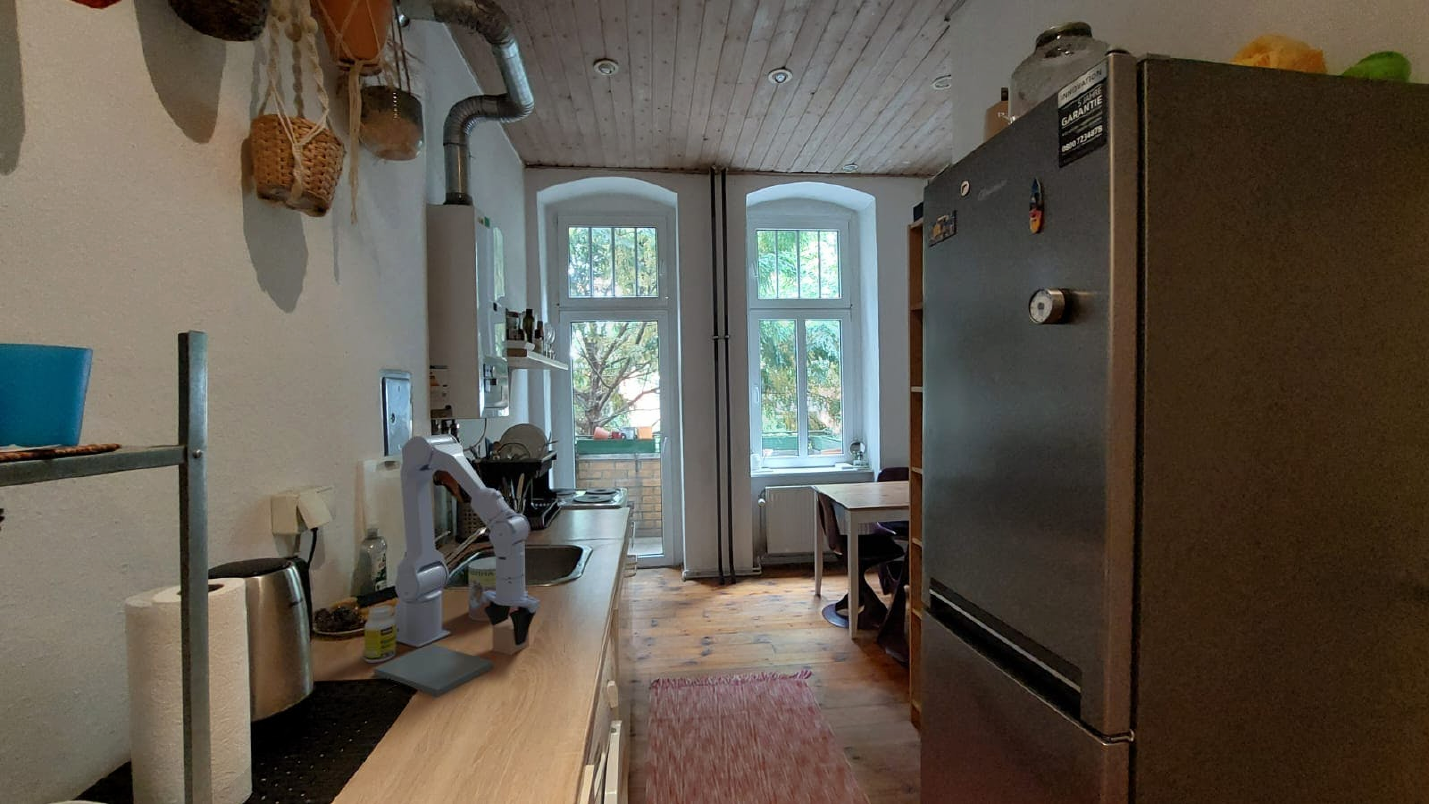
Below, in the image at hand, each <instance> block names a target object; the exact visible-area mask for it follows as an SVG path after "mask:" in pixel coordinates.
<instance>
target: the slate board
mask: <svg viewBox="0 0 1429 804" xmlns="http://www.w3.org/2000/svg"><path fill="white" fill-rule="evenodd" d="M492 669H494V661H493V660H490V659H486V658H484V657H483V658H482V657H479V656H476V655H472V654H469V653H464V652H462V651H458V650H456V649H455V650H454V649H451V648H448V647H443V646H440V645H438V644H434V643H431V644H430V643H429V645H428V644H427V645H425V646H424V647H423V646H422V647H421V648H419V649H415V650H414V651H412V652H409V653H407V654H404V655H402V656H400V657H397V658H395V659H393V660H390V661H387V662H385V663H383V664H380V665H378V666H376V667H374V668H373V675H374V676H378V677H380V678H384V679H385V678H388V679H391V680H394V681H397V682H400V683H403V684H406V685H408V686H411V687H413V688H412V689H414V688H415V689H414V690H417V691H420V692H423V693H426V694H428V695H431V696H433V697H440V696H441V695H444V694H445V693H447V692H449V691H451V690H454V689H455V688H457V687H460V686H462V685H463V684H465V683H467V682H468V681H471V680H472V679H474V678H476V677H479V676H481V675H482V674H484V673H487V672H488V671H490V670H492ZM388 679H387V680H388ZM391 680H390V681H391ZM394 681H393V682H394ZM397 682H396V683H397ZM400 683H399V684H400ZM408 686H407V687H408ZM411 687H410V688H411Z"/></svg>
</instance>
